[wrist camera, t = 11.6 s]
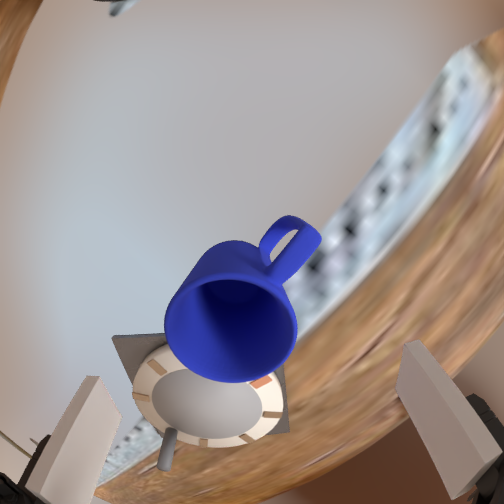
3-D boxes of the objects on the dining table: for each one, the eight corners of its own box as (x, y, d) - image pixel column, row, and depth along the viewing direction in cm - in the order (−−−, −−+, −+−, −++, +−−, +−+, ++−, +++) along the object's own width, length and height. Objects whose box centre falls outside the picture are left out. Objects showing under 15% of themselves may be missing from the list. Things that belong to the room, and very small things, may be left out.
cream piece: (138, 421, 32) (123, 464, 25) (137, 322, 27) (109, 371, 20) (261, 444, 34) (263, 489, 27) (301, 355, 29) (315, 409, 21)
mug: (327, 233, 26) (369, 278, 16) (243, 326, 28) (242, 400, 19) (254, 174, 24) (259, 185, 14) (174, 279, 27) (141, 341, 17)
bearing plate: (113, 335, 29) (103, 351, 26) (278, 321, 28) (281, 338, 25) (162, 434, 34) (158, 450, 32) (289, 428, 34) (291, 445, 31)
